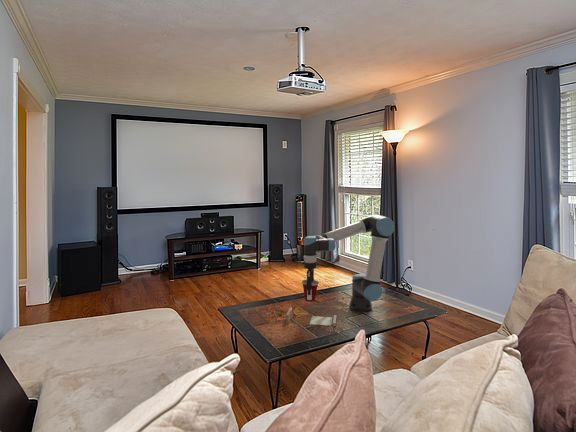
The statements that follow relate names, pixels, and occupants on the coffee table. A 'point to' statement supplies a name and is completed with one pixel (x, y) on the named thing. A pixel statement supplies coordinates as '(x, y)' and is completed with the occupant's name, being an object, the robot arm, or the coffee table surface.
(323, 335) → the coffee table surface
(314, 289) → the plastic cup
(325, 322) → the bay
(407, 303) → the coffee table surface
